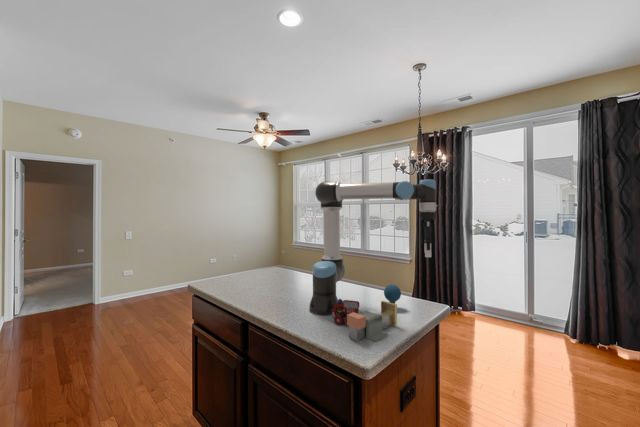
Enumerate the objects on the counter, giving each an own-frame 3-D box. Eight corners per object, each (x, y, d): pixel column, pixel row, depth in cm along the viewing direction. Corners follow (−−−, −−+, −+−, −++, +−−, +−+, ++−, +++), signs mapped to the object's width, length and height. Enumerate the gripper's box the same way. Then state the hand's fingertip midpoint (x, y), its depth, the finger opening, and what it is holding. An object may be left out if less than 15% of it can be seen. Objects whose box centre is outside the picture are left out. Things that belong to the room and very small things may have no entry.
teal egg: (401, 311, 139) (401, 287, 139) (384, 310, 140) (384, 286, 140) (400, 306, 147) (400, 283, 147) (383, 305, 149) (383, 282, 149)
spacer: (358, 329, 106) (358, 318, 106) (347, 324, 110) (346, 314, 110) (365, 326, 108) (365, 316, 108) (353, 322, 113) (353, 312, 113)
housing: (374, 341, 106) (374, 322, 106) (349, 331, 116) (349, 313, 116) (387, 335, 112) (387, 317, 112) (362, 326, 121) (362, 309, 121)
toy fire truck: (335, 318, 131) (335, 295, 131) (361, 322, 125) (361, 298, 125) (329, 323, 124) (329, 299, 124) (357, 328, 119) (356, 303, 119)
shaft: (359, 342, 105) (359, 318, 105) (346, 336, 110) (346, 313, 110) (396, 325, 121) (396, 304, 121) (383, 320, 126) (383, 300, 126)
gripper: (437, 211, 125) (437, 259, 125) (434, 211, 149) (434, 252, 149) (419, 211, 128) (419, 258, 128) (419, 211, 151) (419, 251, 151)
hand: (427, 255), depth 138 cm, fingers open, 13 cm apart
